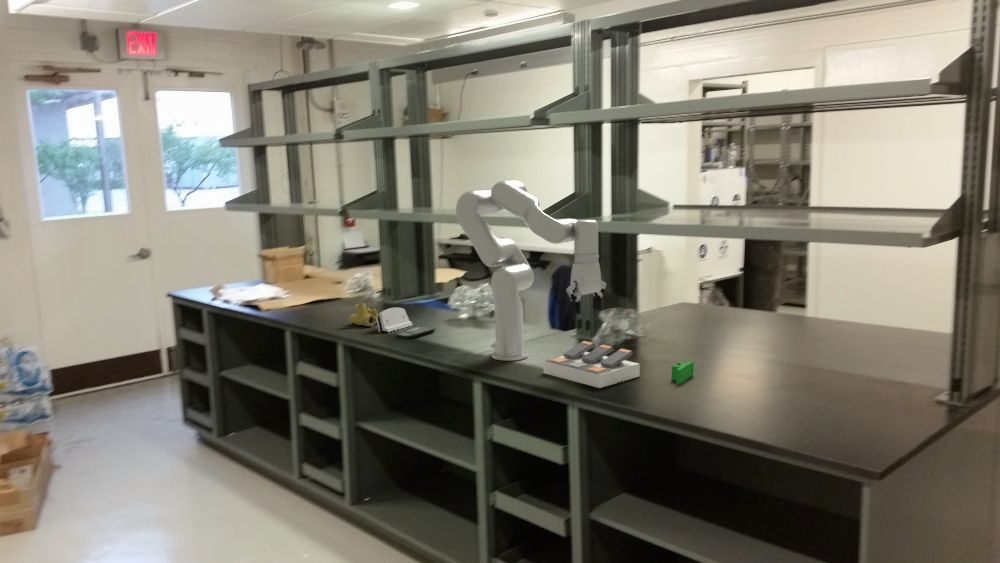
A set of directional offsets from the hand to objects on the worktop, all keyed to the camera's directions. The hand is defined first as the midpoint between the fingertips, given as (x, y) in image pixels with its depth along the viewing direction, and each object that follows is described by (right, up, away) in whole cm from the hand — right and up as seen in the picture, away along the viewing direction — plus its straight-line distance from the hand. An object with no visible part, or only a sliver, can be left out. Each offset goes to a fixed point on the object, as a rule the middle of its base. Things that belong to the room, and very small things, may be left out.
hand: (586, 311), depth 246 cm
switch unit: (0, -19, -7) cm, 21 cm away
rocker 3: (+8, -14, -13) cm, 20 cm away
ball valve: (-85, -9, +82) cm, 119 cm away
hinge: (-72, -10, +72) cm, 103 cm away
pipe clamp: (+27, -20, -15) cm, 37 cm away
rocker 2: (+3, -13, -6) cm, 15 cm away
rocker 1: (-3, -12, 0) cm, 13 cm away
